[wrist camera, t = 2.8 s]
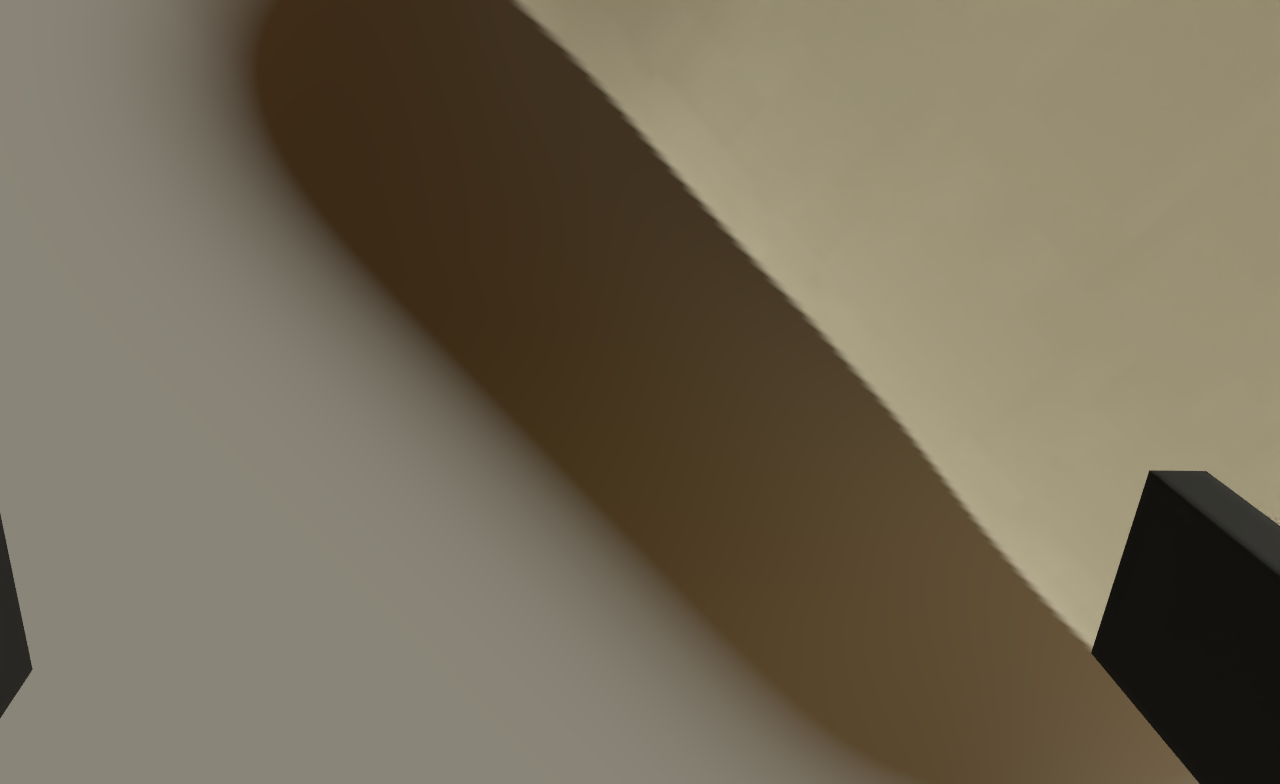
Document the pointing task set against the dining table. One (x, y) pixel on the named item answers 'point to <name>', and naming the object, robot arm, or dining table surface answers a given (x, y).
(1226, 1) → the dining table surface
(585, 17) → the dining table surface
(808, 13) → the dining table surface
